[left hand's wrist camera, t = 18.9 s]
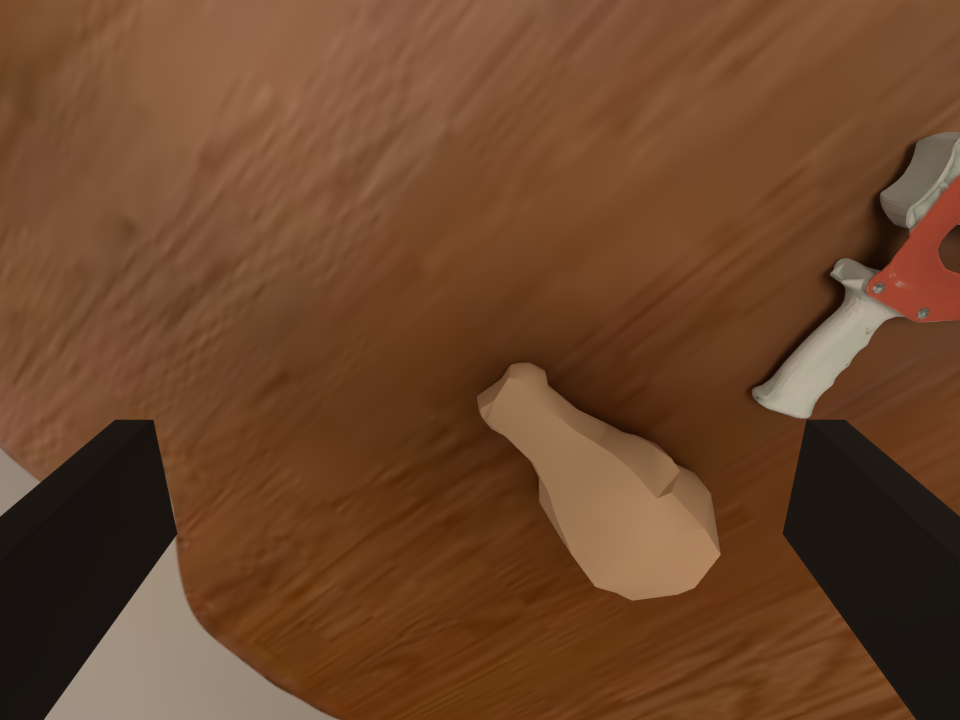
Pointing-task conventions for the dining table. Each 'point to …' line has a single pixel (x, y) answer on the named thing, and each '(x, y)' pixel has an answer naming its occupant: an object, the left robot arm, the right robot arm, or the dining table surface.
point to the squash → (607, 490)
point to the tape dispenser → (883, 280)
